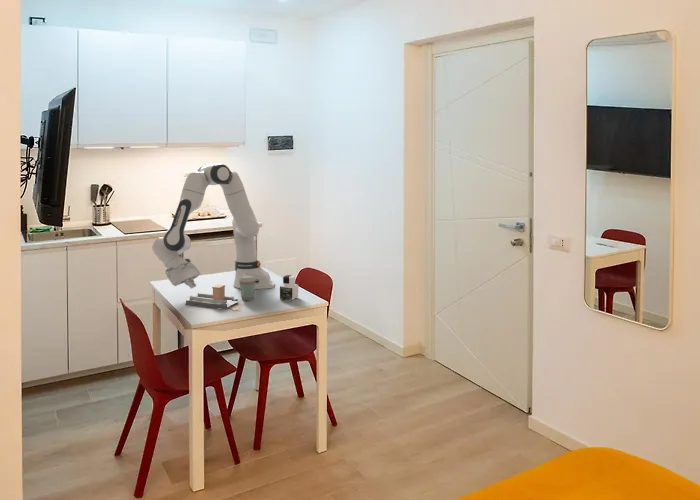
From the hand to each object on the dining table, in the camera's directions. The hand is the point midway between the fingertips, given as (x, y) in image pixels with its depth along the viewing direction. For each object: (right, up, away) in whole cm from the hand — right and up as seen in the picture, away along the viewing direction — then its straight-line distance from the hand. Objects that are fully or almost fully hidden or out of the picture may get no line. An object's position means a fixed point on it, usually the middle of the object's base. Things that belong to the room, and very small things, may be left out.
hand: (193, 287), depth 310 cm
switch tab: (+13, -6, -3) cm, 15 cm away
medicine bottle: (+46, -7, +9) cm, 48 cm away
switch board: (+9, -8, -2) cm, 12 cm away
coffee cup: (+26, -7, +7) cm, 27 cm away
